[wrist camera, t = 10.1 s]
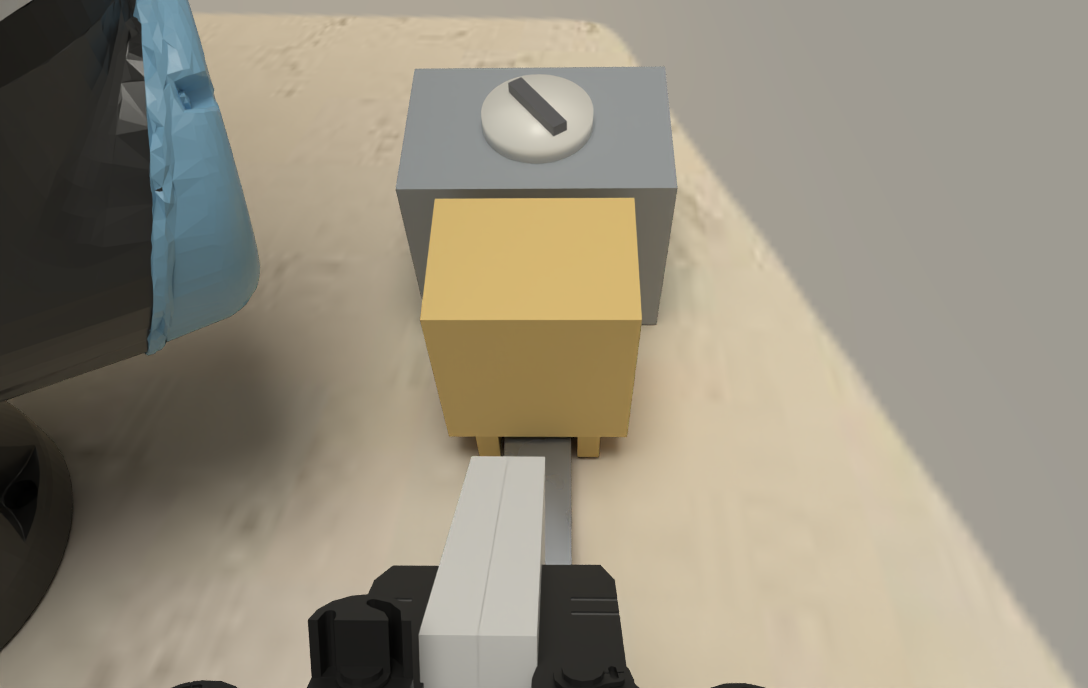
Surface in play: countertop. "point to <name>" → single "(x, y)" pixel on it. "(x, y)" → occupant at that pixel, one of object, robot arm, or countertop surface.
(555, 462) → the rail
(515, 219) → the carriage
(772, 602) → the countertop surface
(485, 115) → the gauge cabinet
